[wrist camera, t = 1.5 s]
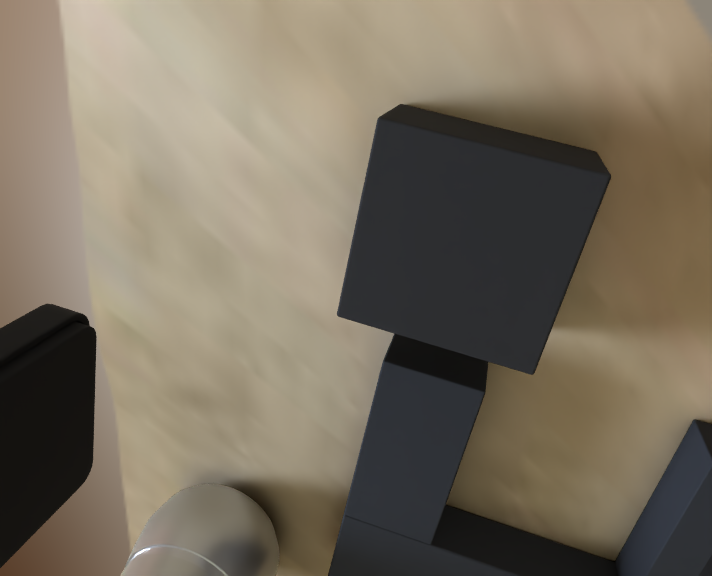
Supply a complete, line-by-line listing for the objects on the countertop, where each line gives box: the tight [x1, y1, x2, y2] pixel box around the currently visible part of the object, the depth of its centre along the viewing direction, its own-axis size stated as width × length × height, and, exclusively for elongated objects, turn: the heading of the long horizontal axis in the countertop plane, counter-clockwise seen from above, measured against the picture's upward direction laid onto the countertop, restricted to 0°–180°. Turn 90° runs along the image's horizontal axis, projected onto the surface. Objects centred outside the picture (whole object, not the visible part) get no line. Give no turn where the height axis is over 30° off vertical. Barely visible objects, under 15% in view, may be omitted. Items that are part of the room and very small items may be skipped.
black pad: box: [337, 104, 611, 375], centre depth 20 cm, size 7×7×4 cm
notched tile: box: [328, 334, 712, 576], centre depth 24 cm, size 12×15×2 cm
